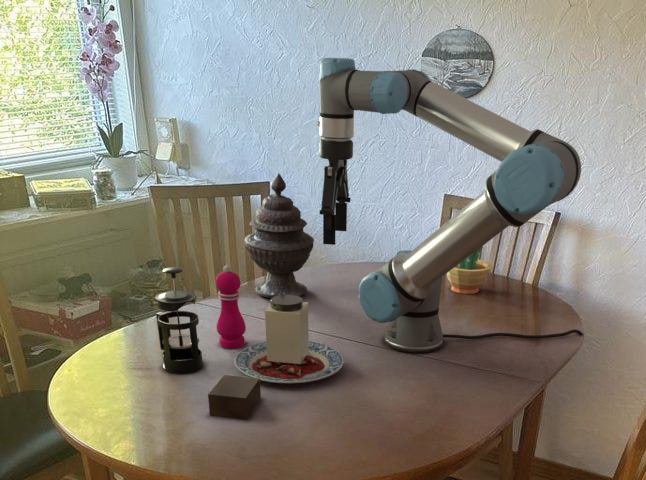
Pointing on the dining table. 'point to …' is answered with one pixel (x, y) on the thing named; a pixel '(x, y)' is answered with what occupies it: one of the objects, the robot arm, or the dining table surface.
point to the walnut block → (234, 397)
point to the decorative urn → (279, 243)
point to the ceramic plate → (289, 364)
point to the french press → (183, 347)
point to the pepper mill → (230, 310)
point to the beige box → (287, 329)
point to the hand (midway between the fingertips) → (335, 237)
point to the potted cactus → (469, 274)
